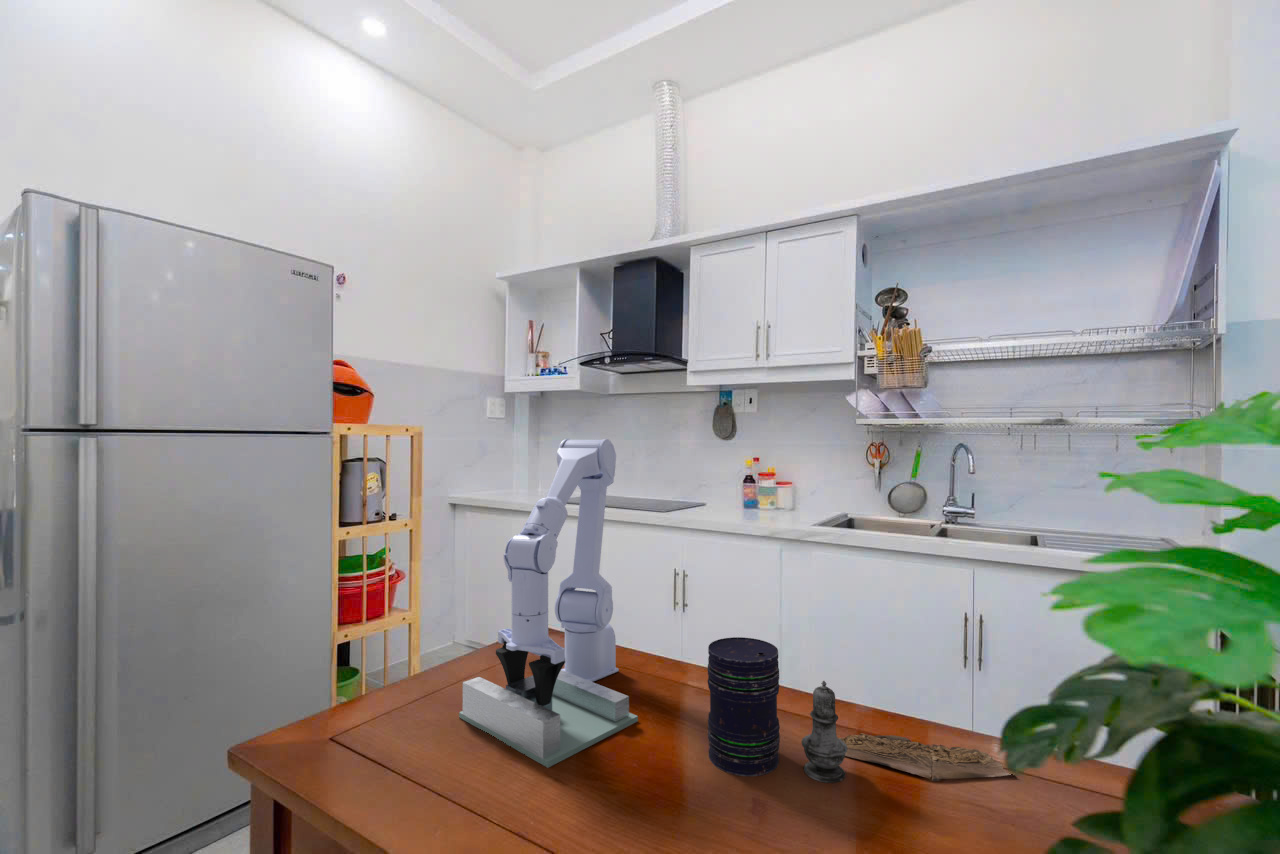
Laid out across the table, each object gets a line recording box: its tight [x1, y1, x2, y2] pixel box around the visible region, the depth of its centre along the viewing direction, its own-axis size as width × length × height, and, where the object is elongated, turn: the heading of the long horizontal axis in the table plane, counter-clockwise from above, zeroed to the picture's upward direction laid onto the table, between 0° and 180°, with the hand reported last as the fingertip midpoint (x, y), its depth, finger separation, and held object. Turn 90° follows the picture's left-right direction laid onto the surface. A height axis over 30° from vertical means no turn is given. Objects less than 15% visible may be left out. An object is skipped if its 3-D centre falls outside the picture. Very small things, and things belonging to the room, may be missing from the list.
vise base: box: [458, 676, 639, 769], centre depth 95 cm, size 18×22×6 cm
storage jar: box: [707, 636, 781, 777], centre depth 84 cm, size 10×10×15 cm
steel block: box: [505, 674, 552, 710], centre depth 95 cm, size 6×4×5 cm, turn 138°
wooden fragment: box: [838, 732, 1018, 782], centre depth 84 cm, size 26×11×1 cm, turn 70°
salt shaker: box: [800, 680, 848, 784], centre depth 80 cm, size 6×6×12 cm
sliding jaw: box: [552, 670, 630, 722], centre depth 100 cm, size 3×20×3 cm, turn 48°
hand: (529, 697), depth 95 cm, fingers open, 6 cm apart
